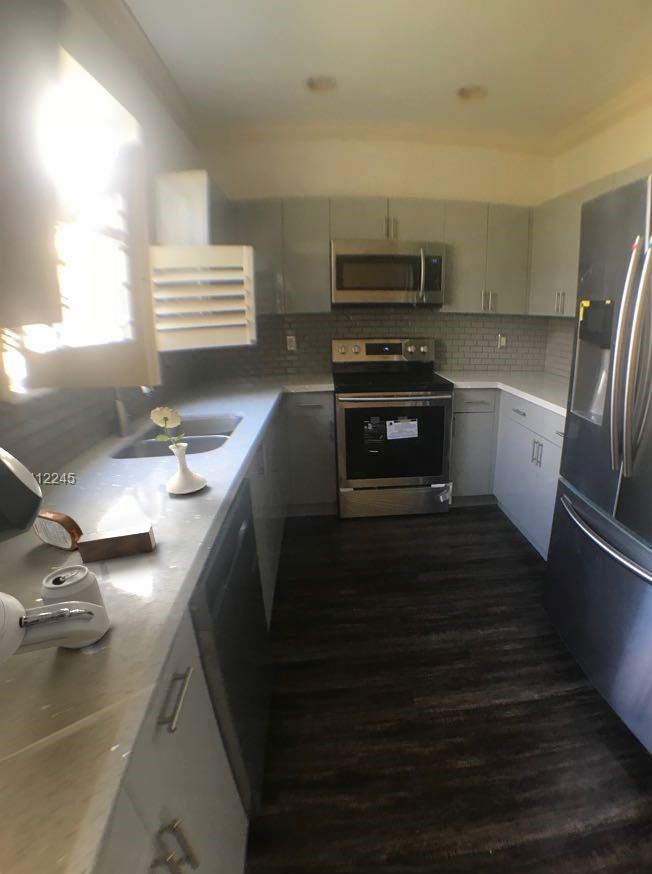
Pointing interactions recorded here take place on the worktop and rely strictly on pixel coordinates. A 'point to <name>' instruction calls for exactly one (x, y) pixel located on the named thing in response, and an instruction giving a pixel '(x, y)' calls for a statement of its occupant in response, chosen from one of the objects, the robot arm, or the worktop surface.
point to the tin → (57, 529)
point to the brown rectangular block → (116, 543)
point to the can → (73, 592)
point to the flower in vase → (177, 454)
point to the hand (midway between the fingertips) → (34, 644)
